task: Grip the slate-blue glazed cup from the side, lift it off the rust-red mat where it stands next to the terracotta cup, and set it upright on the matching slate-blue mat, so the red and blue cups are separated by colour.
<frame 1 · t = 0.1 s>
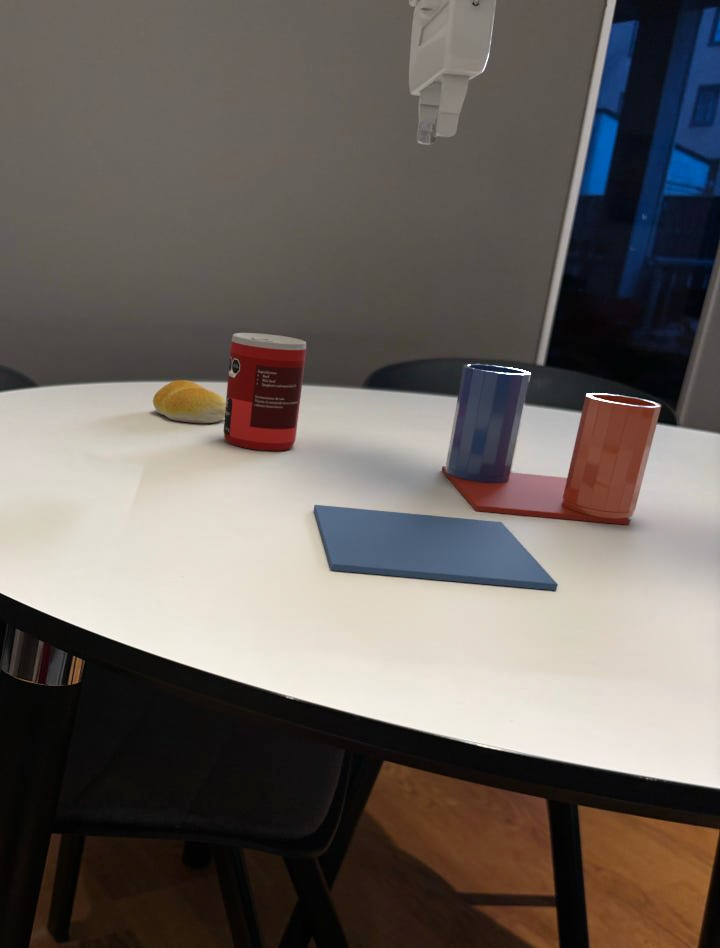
hand: (434, 140, 96), 31 cm above the table, tool pointing down, fingers open, 8 cm apart
bread roll: (188, 418, 120), on the table
blue cup: (477, 475, 102), point 1 cm above the table, touching red mat
blue mat: (424, 546, 78), on the table
red mat: (528, 495, 98), on the table
red cup: (597, 509, 94), point 1 cm above the table, touching red mat
canned food: (258, 445, 109), on the table
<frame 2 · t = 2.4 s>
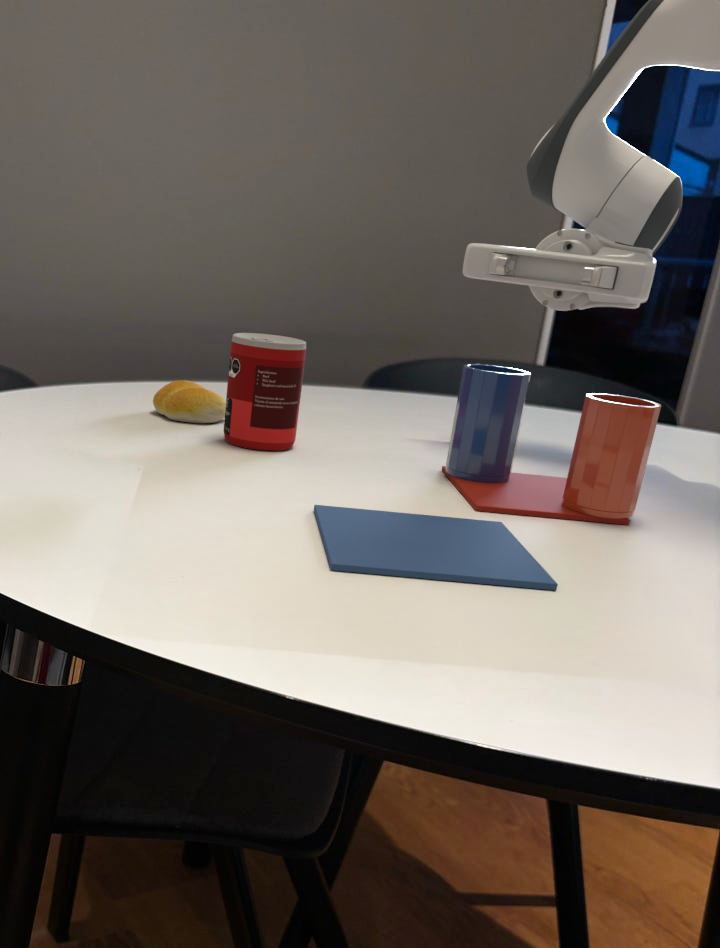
hand: (543, 270, 105), 20 cm above the table, tool horizontal, fingers open, 8 cm apart
nothing on the table moved.
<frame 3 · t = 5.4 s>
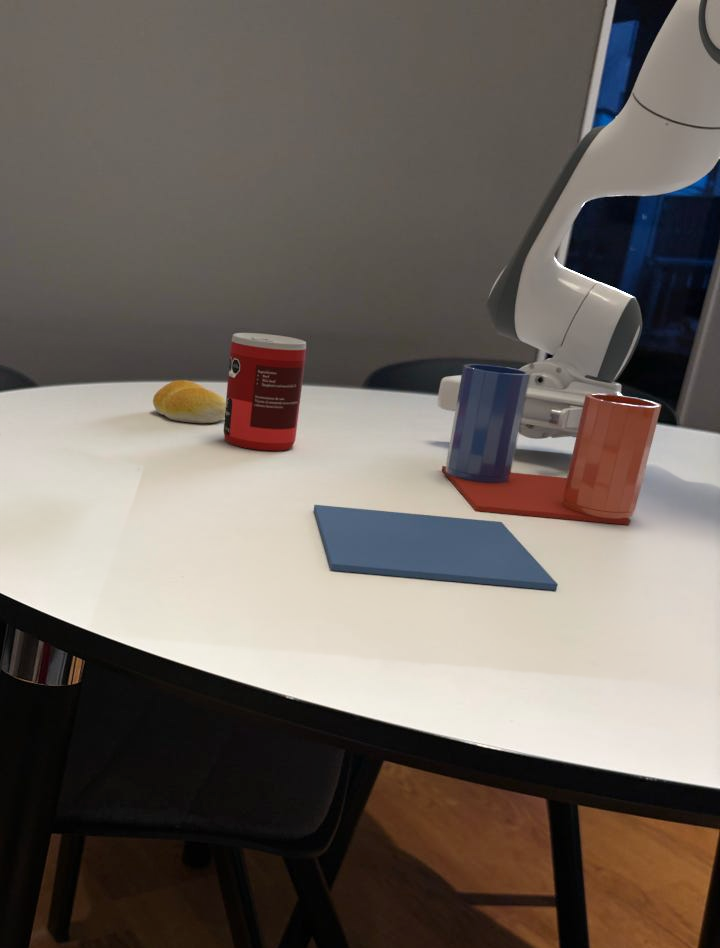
hand: (512, 411, 108), 6 cm above the table, tool horizontal, fingers open, 8 cm apart
nothing on the table moved.
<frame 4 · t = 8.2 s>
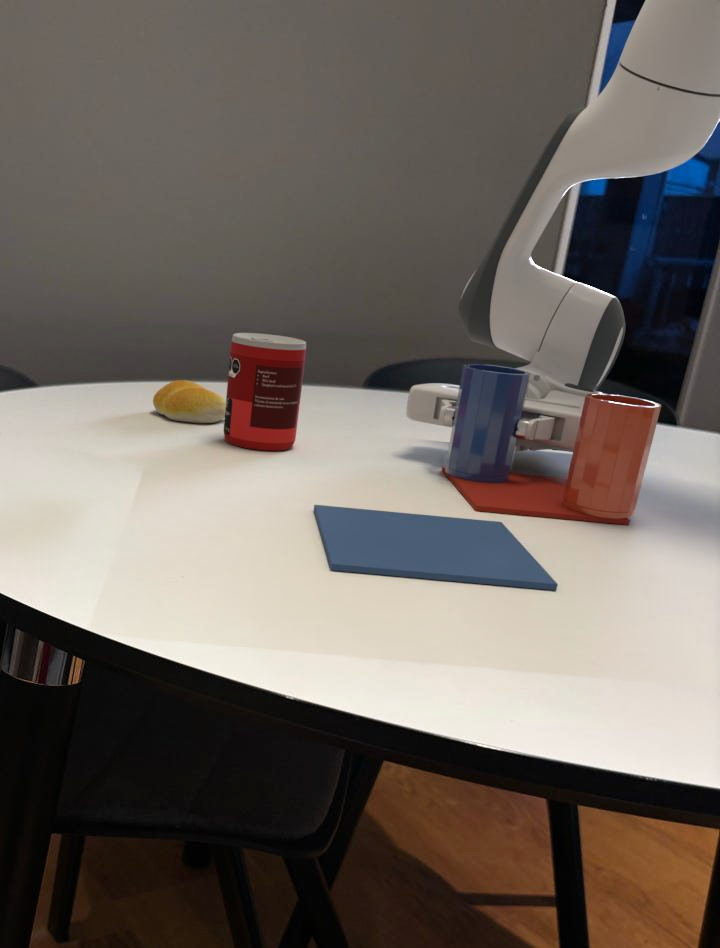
hand: (484, 423, 100), 6 cm above the table, tool horizontal, fingers closed on blue cup, 6 cm apart
blue cup: (476, 475, 102), point 1 cm above the table, touching gripper, red mat
everything else where it was.
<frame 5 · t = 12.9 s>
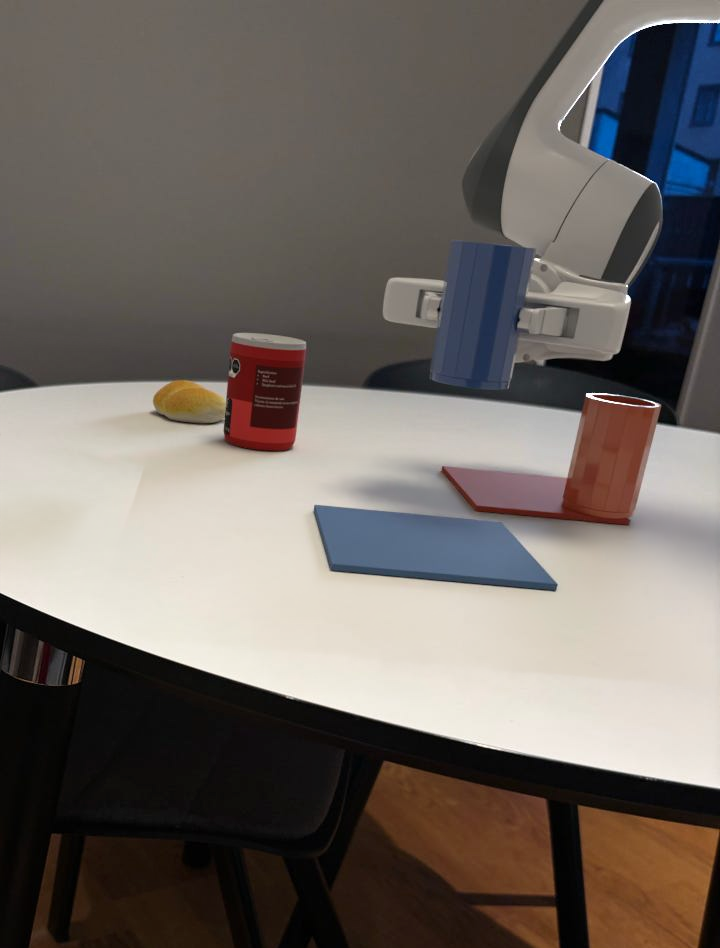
hand: (478, 314, 79), 17 cm above the table, tool horizontal, fingers closed on blue cup, 6 cm apart
blue cup: (468, 382, 82), point 12 cm above the table, touching gripper
everything else where it was.
when the fingers open (6 cm above the table, at t = 18.0 s): blue cup stays where it is, resting on blue mat.
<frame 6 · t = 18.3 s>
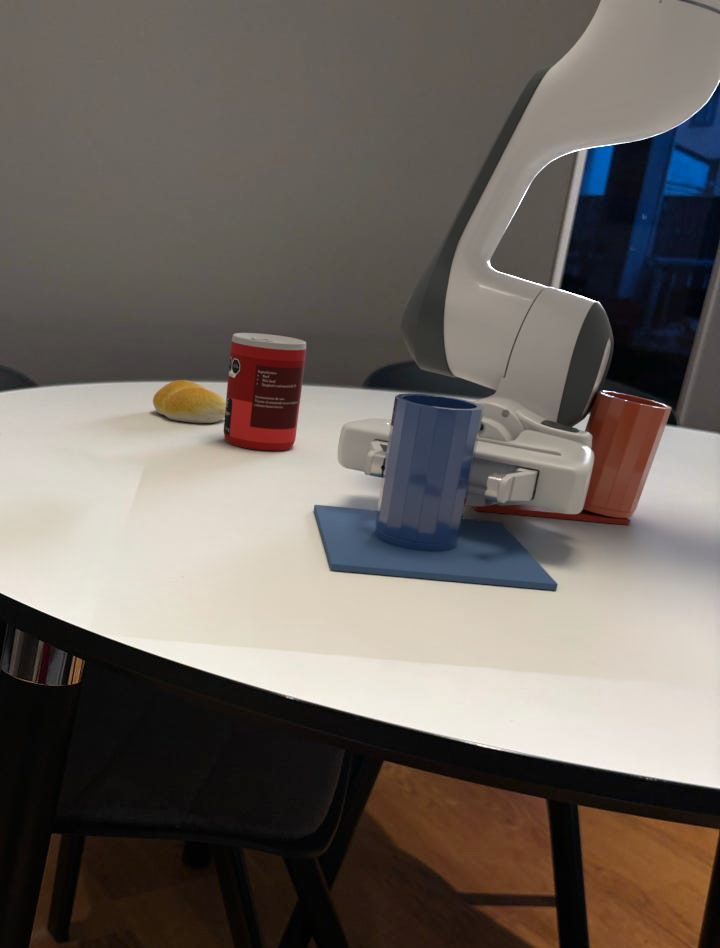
hand: (432, 477, 75), 6 cm above the table, tool horizontal, fingers open, 8 cm apart
blue cup: (415, 538, 78), point 1 cm above the table, touching blue mat, gripper
red cup: (598, 506, 94), point 1 cm above the table, tilted 5°, touching red mat
everything else where it was.
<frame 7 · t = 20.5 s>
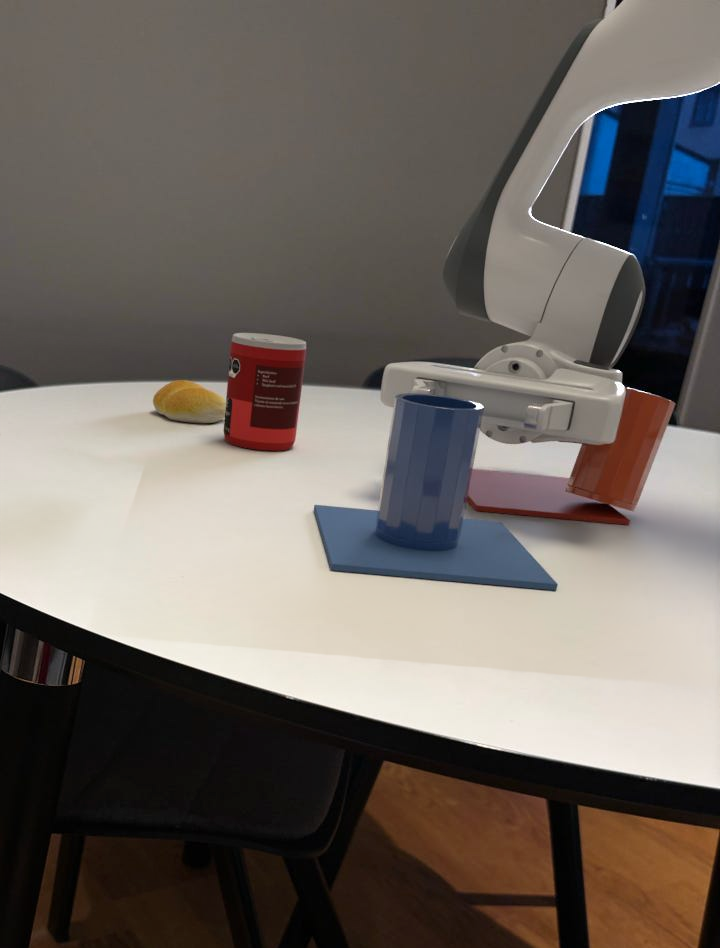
hand: (475, 408, 80), 10 cm above the table, tool horizontal, fingers open, 8 cm apart
blue cup: (416, 538, 78), resting on blue mat
red cup: (599, 501, 94), point 1 cm above the table, tilted 13°, touching red mat
everything else where it was.
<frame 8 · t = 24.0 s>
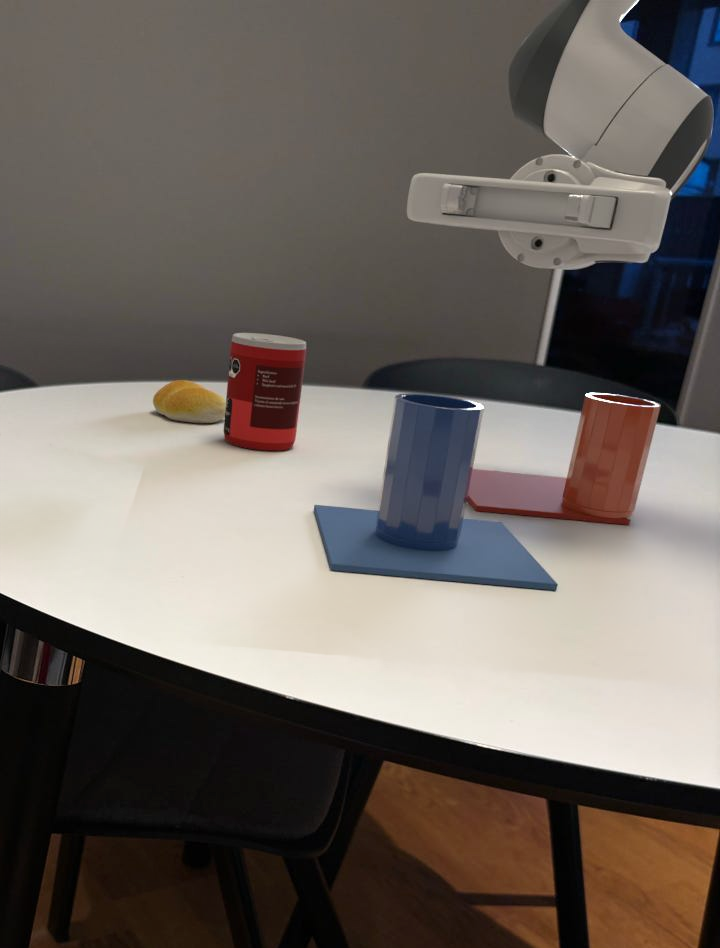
hand: (511, 201, 75), 25 cm above the table, tool horizontal, fingers open, 8 cm apart
red cup: (596, 508, 94), resting on red mat
everything else where it was.
at the end: blue cup inside the target area on the blue mat (0.8 cm from its centre), point 0.5 cm above the blue mat's base; blue cup tilted 0°; red cup moved 0.5 cm from its start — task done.
